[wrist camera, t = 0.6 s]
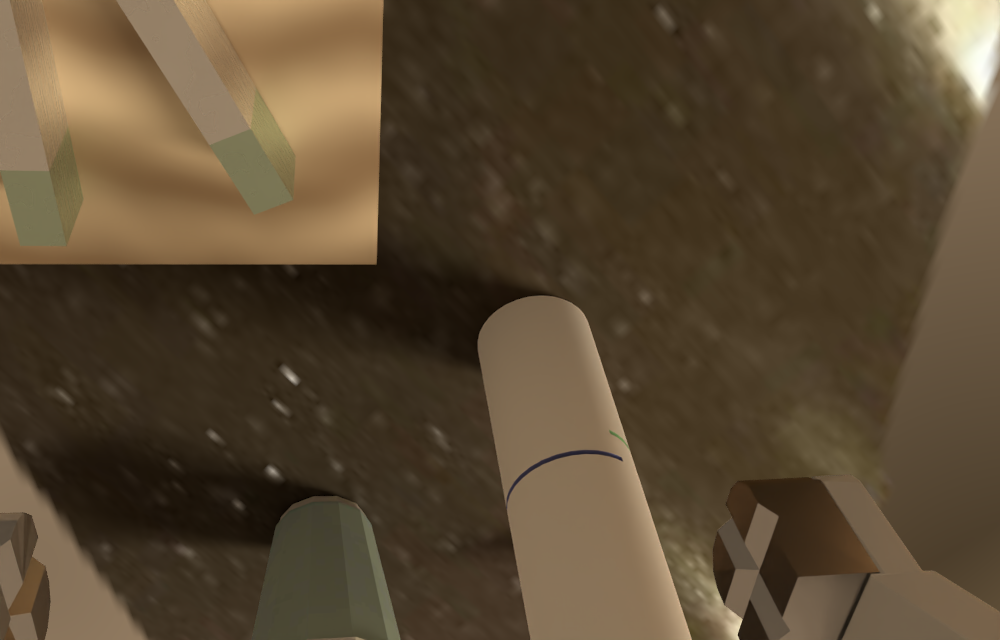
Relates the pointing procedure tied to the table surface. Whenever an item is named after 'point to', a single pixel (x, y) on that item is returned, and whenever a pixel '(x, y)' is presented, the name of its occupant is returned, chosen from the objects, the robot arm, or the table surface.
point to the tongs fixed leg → (35, 130)
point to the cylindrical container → (571, 482)
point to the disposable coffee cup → (324, 577)
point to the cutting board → (189, 158)
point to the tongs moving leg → (218, 96)
